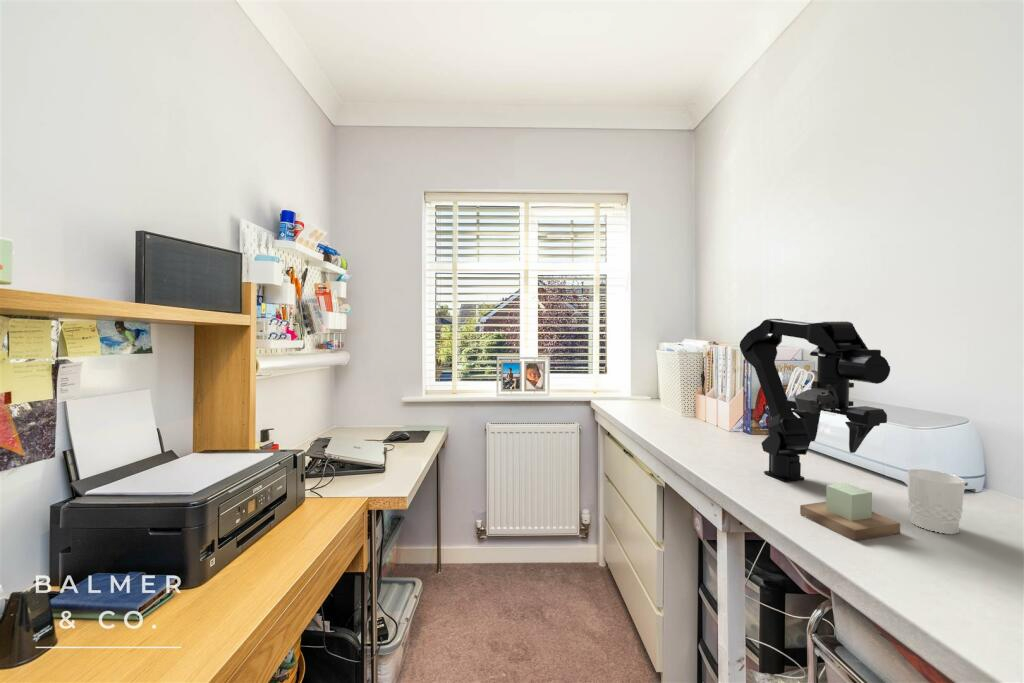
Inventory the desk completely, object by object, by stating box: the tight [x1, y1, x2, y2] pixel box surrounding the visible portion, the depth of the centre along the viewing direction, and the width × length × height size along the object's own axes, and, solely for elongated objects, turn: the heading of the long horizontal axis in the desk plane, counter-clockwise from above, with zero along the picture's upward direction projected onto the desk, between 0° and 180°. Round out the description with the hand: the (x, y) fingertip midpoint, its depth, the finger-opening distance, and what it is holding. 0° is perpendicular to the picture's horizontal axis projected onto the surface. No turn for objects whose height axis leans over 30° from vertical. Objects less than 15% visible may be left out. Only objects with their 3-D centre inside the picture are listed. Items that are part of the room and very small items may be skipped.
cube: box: [825, 482, 873, 521], centre depth 83 cm, size 5×5×5 cm
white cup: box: [906, 468, 966, 535], centre depth 81 cm, size 8×8×10 cm
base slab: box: [799, 501, 901, 542], centre depth 83 cm, size 11×11×2 cm
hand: (831, 446), depth 94 cm, fingers open, 9 cm apart
